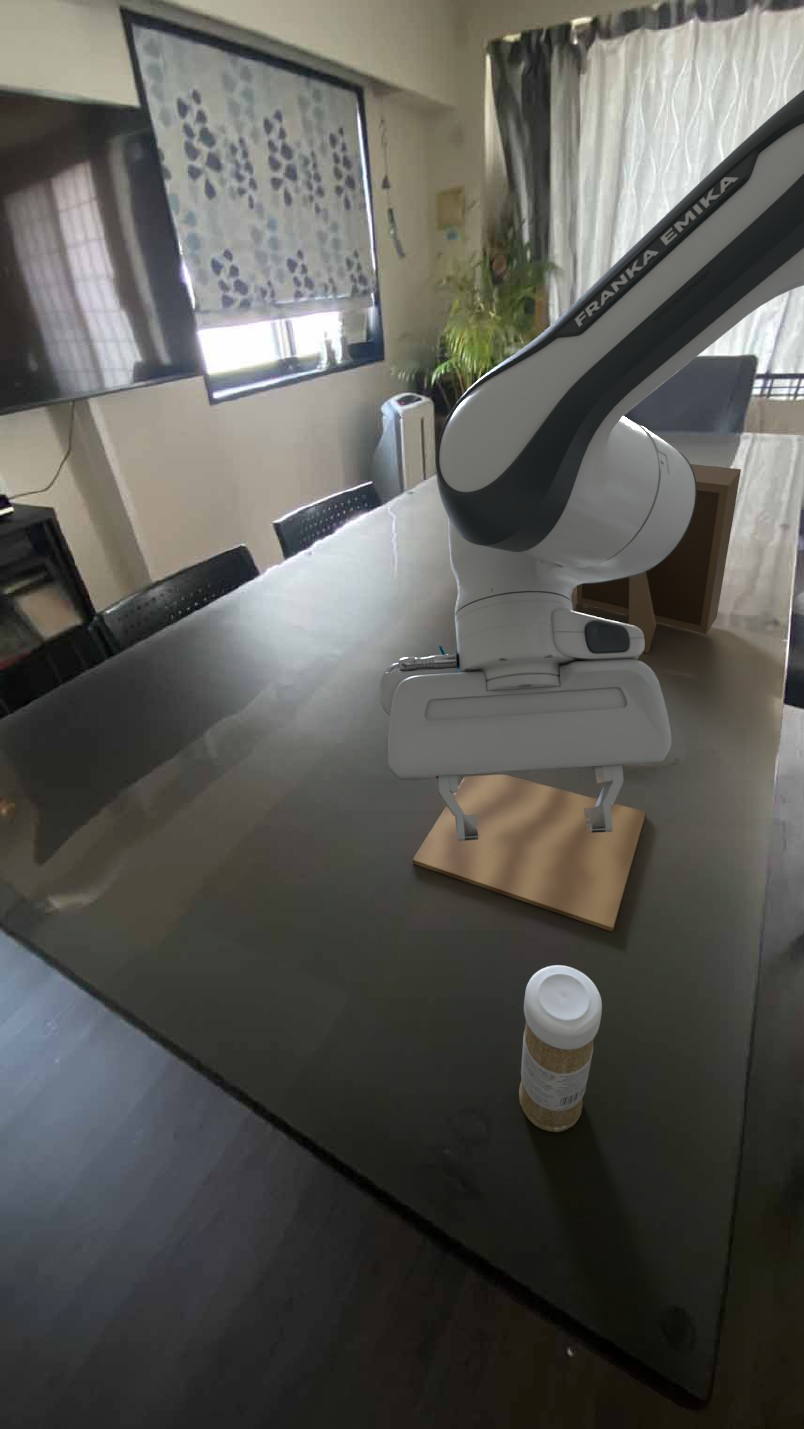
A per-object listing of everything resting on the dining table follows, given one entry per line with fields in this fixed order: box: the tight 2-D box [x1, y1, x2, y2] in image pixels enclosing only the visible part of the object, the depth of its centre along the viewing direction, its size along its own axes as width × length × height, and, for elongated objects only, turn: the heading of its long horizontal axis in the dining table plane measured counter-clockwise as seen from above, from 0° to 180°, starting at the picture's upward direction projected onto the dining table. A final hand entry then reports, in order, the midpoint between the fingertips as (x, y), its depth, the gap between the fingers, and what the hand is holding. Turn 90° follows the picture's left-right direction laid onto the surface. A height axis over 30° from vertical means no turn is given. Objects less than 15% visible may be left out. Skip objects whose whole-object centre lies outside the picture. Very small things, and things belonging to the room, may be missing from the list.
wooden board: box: [412, 774, 647, 933], centre depth 67 cm, size 20×16×1 cm
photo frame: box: [575, 463, 742, 653], centre depth 96 cm, size 15×22×25 cm
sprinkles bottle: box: [518, 964, 603, 1133], centre depth 42 cm, size 5×5×14 cm
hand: (533, 836), depth 46 cm, fingers open, 8 cm apart
